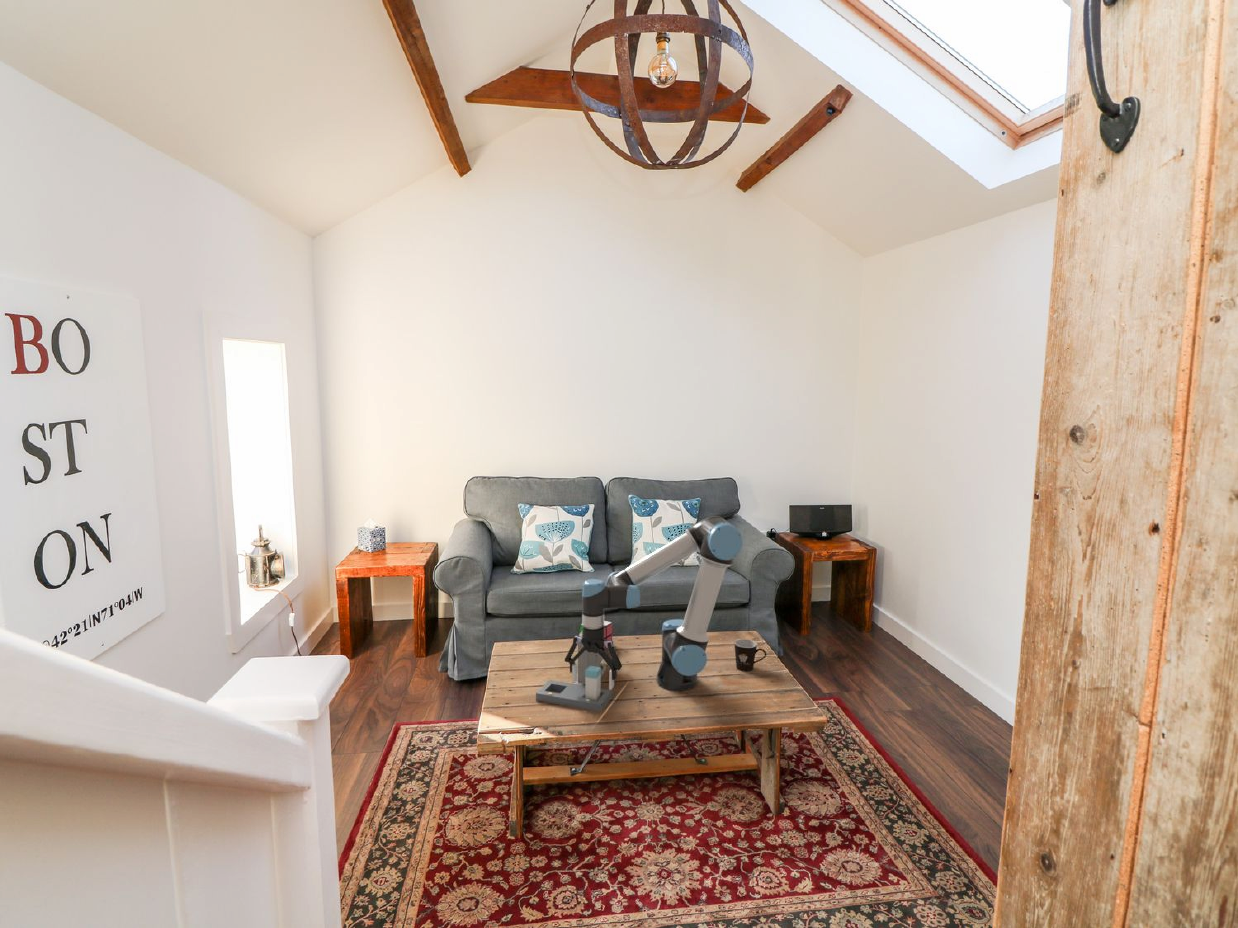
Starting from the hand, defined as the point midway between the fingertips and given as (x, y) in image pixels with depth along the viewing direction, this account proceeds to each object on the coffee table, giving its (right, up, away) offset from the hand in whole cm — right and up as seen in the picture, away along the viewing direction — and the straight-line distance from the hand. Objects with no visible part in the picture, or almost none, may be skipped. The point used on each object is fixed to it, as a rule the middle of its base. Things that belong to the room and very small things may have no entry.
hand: (592, 684), depth 230 cm
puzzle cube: (-1, -1, +50) cm, 50 cm away
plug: (0, -6, +1) cm, 6 cm away
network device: (-2, -4, +23) cm, 23 cm away
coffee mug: (+59, -4, +29) cm, 66 cm away
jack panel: (-7, -6, +3) cm, 10 cm away
